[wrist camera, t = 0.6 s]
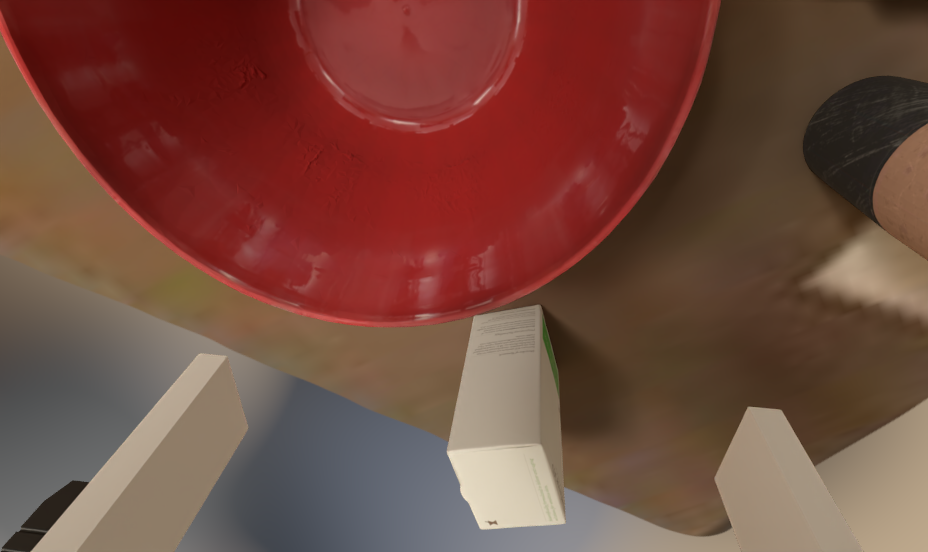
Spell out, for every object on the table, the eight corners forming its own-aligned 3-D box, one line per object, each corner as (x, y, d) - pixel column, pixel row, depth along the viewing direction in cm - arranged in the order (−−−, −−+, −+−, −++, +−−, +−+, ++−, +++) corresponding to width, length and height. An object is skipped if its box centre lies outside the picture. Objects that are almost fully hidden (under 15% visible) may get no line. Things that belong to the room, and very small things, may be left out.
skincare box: (558, 371, 47) (571, 528, 34) (491, 380, 48) (478, 534, 35) (540, 299, 43) (547, 446, 30) (467, 312, 44) (442, 457, 31)
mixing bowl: (589, -454, 22) (685, -1096, 9) (667, 155, 35) (751, 264, 22) (102, -169, 29) (-249, -283, 16) (322, 247, 42) (231, 371, 29)
